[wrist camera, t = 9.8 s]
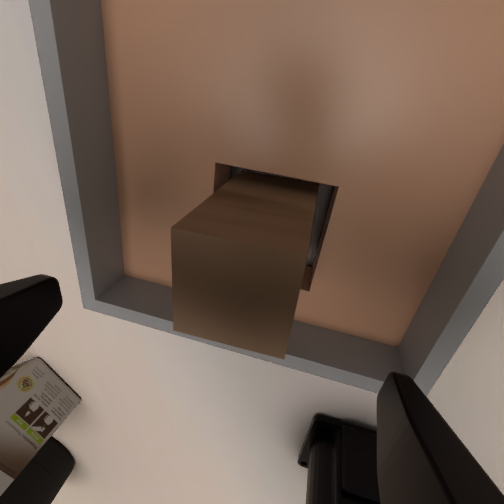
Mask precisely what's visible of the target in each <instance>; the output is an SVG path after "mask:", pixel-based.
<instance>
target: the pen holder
mask: <svg viewBox="0 0 504 504" xmlns="http://www.w3.org/2000/svg"><path fill="white" fill-rule="evenodd" d="M73 464H74V462H73V458H72V456H71V455H70V453H69V452H68V451H67V450H66V448H64V447H63V446H62V445H61V444H60V443H59V442H57V441H56V440H55V439H53V438H52V437H50V438H49V439H48V440H47V442H46V443H45V444H44V445H43V446H42V447H41V448H40V450H39V451H38V452H37V453H36V455H35V456H34V457H33V458H32V459H31V461H30V462H29V463H28V464H27V465H26V466H25V468H24V469H23V470H22V471H21V472H20V473H19V475H18V476H17V477H16V478H15V480H14V481H13V482H12V483H11V484H10V486H9V487H8V488H7V489H6V490H5V492H4V493H3V494H2V495H1V496H0V504H51V503H52V501H53V500H54V498H55V497H56V495H57V494H58V492H59V490H60V489H61V487H62V486H63V484H64V483H65V481H66V479H67V478H68V476H69V475H70V473H71V471H72V470H73Z"/></svg>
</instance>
